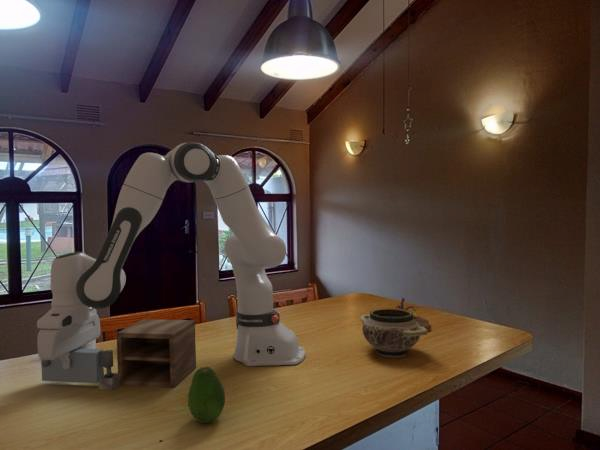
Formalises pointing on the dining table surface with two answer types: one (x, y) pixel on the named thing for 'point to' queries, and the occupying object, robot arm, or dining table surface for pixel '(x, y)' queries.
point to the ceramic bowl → (391, 331)
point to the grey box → (79, 366)
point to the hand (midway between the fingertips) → (73, 365)
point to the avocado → (206, 395)
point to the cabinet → (153, 354)
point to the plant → (420, 320)
